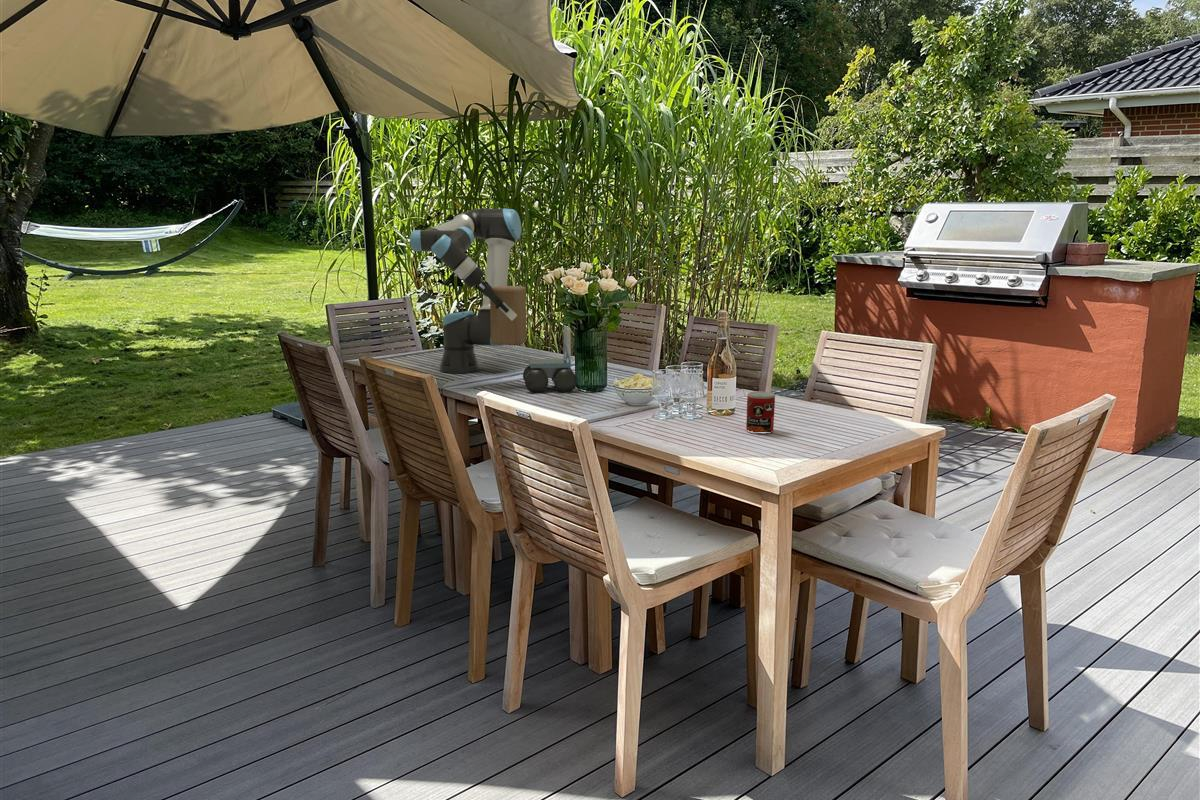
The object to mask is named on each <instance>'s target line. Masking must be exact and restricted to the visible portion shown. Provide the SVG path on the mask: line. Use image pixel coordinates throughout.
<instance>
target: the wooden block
mask: <svg viewBox="0 0 1200 800" xmlns="http://www.w3.org/2000/svg"><path fill="white" fill-rule="evenodd" d="M492 289H493V292H494V293H495V294H496V295H497V296H498V297H499V298H500V299H501V300H502V301H503V302H504V303H505V304H506V305H507V306H508V307H509V308H510V309H511V310H512V311H514V312H515V313H516V314H517V316H516V317H515V318H514V319H513V320H512V321H511V320H510V319H509V318H508V317H507V316H506V315H505V314H504V313H503V312H502V311H501V310H500V309H499V308H498V309H496V308H495V307H496V305H495V304H494V303H493V302H492V301H491V300H490V322H491V343H492V344H498V345H503V346H517V345H520V344H524V343H526V341H527V294H526V293H527V292H526V291H527V288H526V286H523V285H507V286H497V287H492Z"/></svg>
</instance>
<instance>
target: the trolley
mask: <svg viewBox="0 0 1200 800" xmlns="http://www.w3.org/2000/svg"><path fill="white" fill-rule="evenodd" d="M571 328H572V327H571ZM571 328H570V327H568V326H566V325H564V324H563V358H544V359H542V358H541V359H540V358H539V359H537V358H536V359H533V358H531V359H529V358H528V365H527V366H526V367H525V368H524V369H523V372H522V379H523V381H524V384H525V387H526V389H527V390H528V391H529V392H530V393H533V394H540V393H541V394H542V392H544V391H545V390H546V389H547V388H548V387H549V379H551V381H552V382H553V384H554V386H555V389H556V390H557V391H559V392H561V393H563V392H568V393H570V392H571V393H572V391H574V390H575V388H576V387H577V384H578V382H577V383H576V380H577V381H578V377H577V375H576V373H574V372H573V369H572V368H571V367H572V363H571V357H572V356H571V351H572V350H571V349H572V348H571V345H572V344H571V337H572V335H571V333H572V331H571Z"/></svg>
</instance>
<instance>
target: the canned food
mask: <svg viewBox="0 0 1200 800" xmlns="http://www.w3.org/2000/svg"><path fill="white" fill-rule="evenodd" d="M775 395H776V394H775V393H773V392H770V391H769V392H768V391H762V390H761V391H760V390H758V391H749V392H748V393H747V396H746V397H747V398H746V400H747V401H746V423H745V424H746V426H745V428H746V431H747V430H749V431H753V432H771V431H774V426H775V425H774V424H775V406H776V396H775Z"/></svg>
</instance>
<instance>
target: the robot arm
mask: <svg viewBox="0 0 1200 800" xmlns="http://www.w3.org/2000/svg"><path fill="white" fill-rule="evenodd" d="M521 236H522V222H521V218H520V216H519V213H518V212H517V211H516V210H515V209H513V208H506V207H505V208H476V209H472V210H471V209H470V210H468V211H465V212H463V213H462V212H461V213H458V215H455V216H454V217H453V219H451V220H449V221H446V222H443V223H441V224H438V225H435V226H433V227H430V228H428V229H416V230H412V231H411V233H410V235H409V244H410V247H411V249H412V250H413V251H415V252H421V253H422V252H432V253H433V254H434V255H435V256H436V258H438V259H439V260H440V261H442V263H443V264H444V265H445V266H447V267H448V268H449V269H450V271H452V272H453V273H454V275H453V276H454V277H458V278H459V279H460V280H462V281H463V283H464V284H465V285H466V286H467V287H468V288H469V289H472V288H473V287H474V286H475V285H476V286H477V291H479V292H480V293H482V295H483V298H482V305H481V307H480V308H478V309H477V314H474V312H473V310H466V311H460V312H459V311H458V312H457V311H456V312H452V313H446V314H445V315H444V316H443V321H442V322H443V324H442V327H443V354H442V358H441V360H440V364H439V371H440V372H442V373H445V372H448V373H447V374H471V373H475V372H476V373H477V372H479V369H480V368H479V365H480V364H479V362H478V360H477V356H476V353H475V348H474V347H475V346H488V347H489V346H491V347H503V346H504V345H498V344H492V343H491V322H490V300H491V301H492V302H493V303H494V304H495V305H496V307H495V308H496V309H498V308H499V309H500V310H501V311H502V312H503V313H504V314H505V315H506V316H507V317H508V318H509V319H510V320H511V321H512V320H513V319H514V318H515V317H516V316H517V314H516V313H515V312H514V311H512V310H511V309H510V308H509V307H508V306H507V305H506V304H505V303H504V302H503V301H502V300H501V299H500V298H499V297H498V296H497V295H496V294H495V293H494V292H493V289H492V287H497V286H508V278H509V277H508V275H509V267H510V266H509V265H510V255H511V249H512V248H513V247H514V246H515V243H516V240H519V239H521ZM475 239H482V240H483V239H484V242H485V244H487V247H488V249H487V258H486V268H485V271H483V270H482V268H481V267H480V266H478V265H477V263H476V262H475V261H474V260H473V259H472V258H471V257H470V256H468V255H467V254H466V253H465V252H467V250H469V249H470V248H471V245H473V243H474V241H475ZM484 275H485V276H484ZM483 277H485V279H482V278H483Z"/></svg>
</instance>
